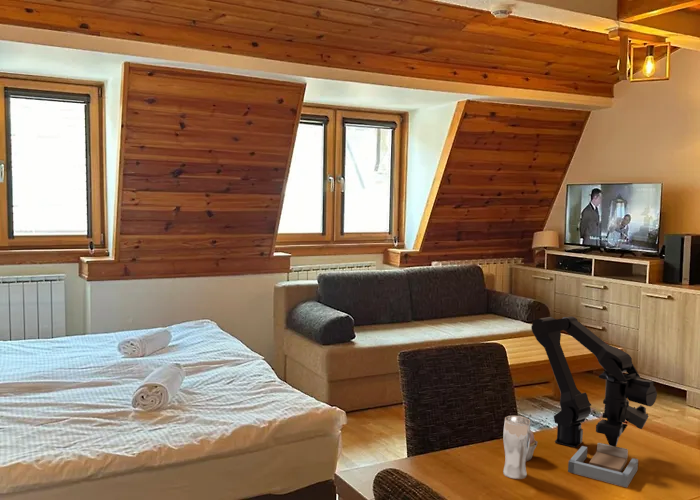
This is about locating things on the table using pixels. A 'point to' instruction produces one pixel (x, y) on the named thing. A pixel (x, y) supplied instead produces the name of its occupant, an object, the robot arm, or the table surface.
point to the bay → (601, 470)
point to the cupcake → (531, 446)
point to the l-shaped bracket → (610, 457)
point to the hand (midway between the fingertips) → (613, 449)
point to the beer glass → (516, 446)
